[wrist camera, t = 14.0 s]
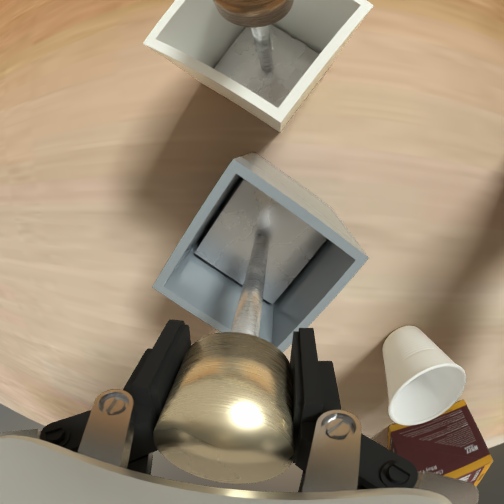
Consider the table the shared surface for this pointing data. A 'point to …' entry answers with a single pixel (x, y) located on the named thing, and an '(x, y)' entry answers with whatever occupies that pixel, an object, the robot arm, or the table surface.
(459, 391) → the cup
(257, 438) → the brass knobbed plunger
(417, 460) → the supplement box
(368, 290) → the table surface
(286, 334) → the grey open box
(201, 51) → the white open box
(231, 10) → the bronze knobbed rod
